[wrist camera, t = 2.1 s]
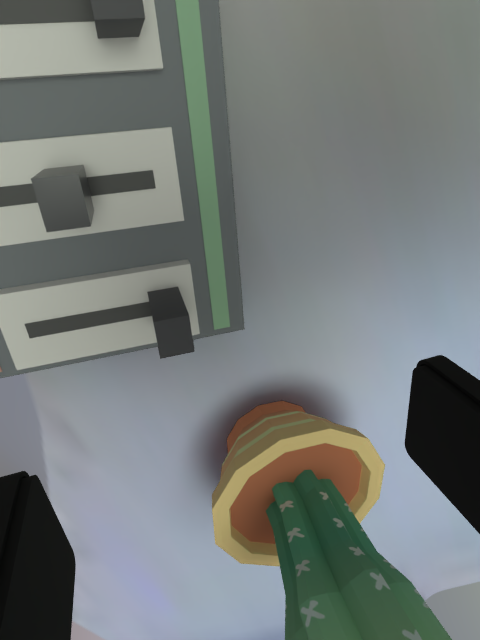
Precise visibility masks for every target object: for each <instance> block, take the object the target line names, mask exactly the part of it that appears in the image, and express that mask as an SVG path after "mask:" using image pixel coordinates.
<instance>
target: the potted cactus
mask: <svg viewBox="0 0 480 640" xmlns="http://www.w3.org/2000/svg"><path fill="white" fill-rule="evenodd" d="M227 449H228V455H227V457H226V459H225V460H224V462H223V464H222V469H221V478H220V482H219V484H218V485H217V487H216V489H215V490H214V492H213V494H212V512H213V523H214V534H215V544H216V545H218V546H219V547H220V548H222V549H223V550H224V551H225V552H227V553H228V554H229V555H231V556H232V557H233V558H234V559H236V560H237V561H238V562H239V563H243V564H256V565H268V566H280V569H281V574H282V579H283V584H284V589H285V594H286V608H285V640H452V639H451V638H450V636H449V635H448V633H447V632H446V631H445V629H444V628H443V626H442V625H441V624H440V622H439V621H438V619H437V618H436V616H435V615H434V614H433V613H432V611H431V609H430V608H429V607H428V605H427V604H426V602H425V601H424V600H423V598H422V597H421V595H420V594H419V593H418V591H417V590H416V588H415V587H414V586H413V584H412V583H411V582H410V581H409V580H408V579H407V578H406V577H405V576H404V575H403V574H402V573H400V572H399V571H398V570H397V569H396V568H395V567H394V566H393V565H391V564H390V563H389V562H388V561H387V560H386V559H385V558H384V557H383V556H381V555H380V554H379V553H378V552H377V551H376V549H375V548H374V546H373V544H372V543H371V541H370V539H369V538H368V536H367V535H366V533H365V531H364V530H363V528H362V527H361V525H360V523H361V521H362V520H363V519H364V517H365V516H366V515H367V513H368V512H369V511H370V509H371V508H372V507H373V505H374V504H375V503H376V501H377V500H378V499H379V496H380V490H381V485H382V479H383V473H384V467H385V464H384V463H383V461H382V459H381V458H380V456H379V455H378V453H377V452H376V450H375V448H374V447H373V445H372V444H371V442H370V441H369V439H368V438H367V437H365V436H364V435H363V434H361V433H360V432H359V431H357V430H356V429H353V428H349V427H346V426H342V425H338V424H335V423H332V422H331V421H329V420H327V419H325V418H321V417H318V416H314V415H311V414H307V413H306V412H305V411H304V409H303V408H302V407H301V406H299V405H295V404H292V403H288V402H285V401H278V402H273V403H268V404H263V405H258V406H257V407H255V408H254V409H253V410H251V411H250V412H248V413H247V414H245V415H244V416H242V417H241V418H240V419H238V420H237V422H236V424H235V426H234V427H233V429H232V431H231V432H230V434H229V436H228V438H227Z"/></svg>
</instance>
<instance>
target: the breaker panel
mask: <svg viewBox="0 0 480 640" xmlns="http://www.w3.org/2000/svg"><path fill="white" fill-rule="evenodd" d="M76 165H84V169H85V173H86V177H87V181H88V186H89V190H90V194H91V198H92V203H93V207H94V214H93V219H92V224H91V226H90V227H83V228H76V229H68V230H61V231H54V232H46V228H45V225H44V222H43V218H42V215H41V212H40V208H39V205H38V202H37V198H36V195H35V191H34V188H33V185H32V181H31V178H32V177H34V176H35V175H36V174H38V173H39V172H40V171H42V170H43V169H48V168H57V167H67V166H76ZM243 329H244V317H243V305H242V292H241V279H240V267H239V254H238V241H237V229H236V216H235V203H234V191H233V178H232V165H231V152H230V140H229V127H228V114H227V102H226V89H225V76H224V64H223V51H222V38H221V26H220V13H219V0H0V378H4V377H9V376H14V375H19V374H24V373H29V372H34V371H39V370H44V369H49V368H54V367H59V366H64V365H69V364H74V363H79V362H84V361H88V360H93V359H98V358H103V357H108V356H113V355H118V354H123V353H128V352H133V351H138V350H143V349H148V348H153V347H158V349H159V354H160V359H161V358H166V357H171V356H175V355H180V354H185V353H190V352H194V345H193V339H198V338H203V337H208V336H213V335H218V334H223V333H228V332H233V331H238V330H243Z"/></svg>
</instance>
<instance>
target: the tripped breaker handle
mask: <svg viewBox="0 0 480 640" xmlns="http://www.w3.org/2000/svg"><path fill="white" fill-rule="evenodd" d="M31 181H32V185H33V188H34V191H35V195H36V198H37V202H38V205H39V208H40V212H41V215H42V218H43V222H44V225H45V228H46V232H54V231H61V230H68V229H76V228H83V227H90V226H91V224H92V219H93V214H94V207H93V203H92V198H91V194H90V190H89V186H88V181H87V177H86V173H85V169H84V165H76V166H67V167H57V168H48V169H43V170H42V171H40V172H39V173H38V174H36V175H35V176H34V177H32V178H31Z"/></svg>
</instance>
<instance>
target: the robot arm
mask: <svg viewBox="0 0 480 640" xmlns="http://www.w3.org/2000/svg"><path fill="white" fill-rule="evenodd" d="M405 448H406V451H407V453H408V455H409V456H410V457H411V459H412V460H413V461H414V462H415V463H416V464H417V465H418V466H419V467H420V468H421V470H422V471H423V472H424V473H425V474H426V475H427V476H428V477H429V478H430V480H431V481H432V482H433V483H434V484H435V485H436V486H437V487H438V488H439V489H440V491H441V492H442V493H443V494H444V495H445V496H446V497H447V498H448V499H449V501H450V502H451V503H452V504H453V505H454V506H455V507H456V508H457V509H458V510H459V512H460V513H461V514H462V515H463V516H464V517H465V518H466V519H467V520H468V522H469V523H470V524H471V525H472V526H473V527H474V528H475V529H476V530H477V531H478V533H479V534H480V380H478V379H477V378H475V377H474V376H472V375H471V374H470V373H468V372H467V371H465V370H464V369H462V368H461V367H459V366H458V365H457V364H455V363H454V362H452V361H451V360H449V359H448V358H447V357H445V356H442V355H438V356H435V357H431V358H428V359H424V360H421V361H419V362H418V364H417V367H416V368H414V370H413V374H412V383H411V392H410V401H409V410H408V419H407V428H406V437H405ZM74 582H75V556H74V552H73V550H72V547H71V545H70V543H69V541H68V539H67V537H66V535H65V533H64V531H63V528H62V526H61V524H60V522H59V520H58V518H57V516H56V514H55V511H54V509H53V507H52V505H51V503H50V501H49V499H48V497H47V495H46V493H45V491H44V488H43V486H42V484H41V482H40V480H39V478H38V477H37V476H36V475H33V476H29V475H28V473H26V472H25V471H21V472H18V473H14V474H11V475H7V476H4V477H0V640H70V639H71V623H72V611H73V596H74Z"/></svg>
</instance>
